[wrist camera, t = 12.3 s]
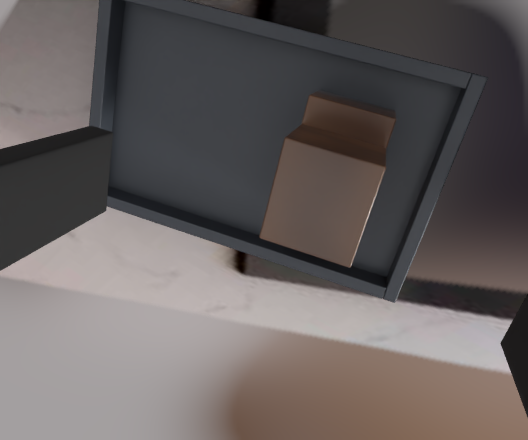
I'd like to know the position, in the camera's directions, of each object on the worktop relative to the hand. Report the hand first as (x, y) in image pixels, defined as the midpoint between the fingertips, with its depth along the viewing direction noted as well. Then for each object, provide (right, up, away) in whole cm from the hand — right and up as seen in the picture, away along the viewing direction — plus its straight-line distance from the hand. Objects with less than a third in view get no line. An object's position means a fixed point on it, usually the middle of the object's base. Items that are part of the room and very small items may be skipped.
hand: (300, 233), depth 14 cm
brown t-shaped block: (+3, +4, +14) cm, 14 cm away
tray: (-1, +5, +15) cm, 16 cm away
